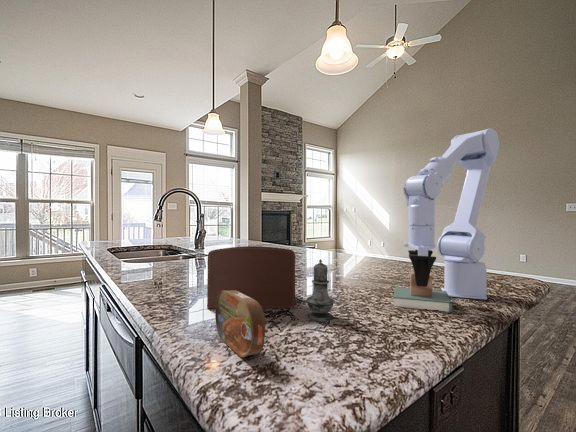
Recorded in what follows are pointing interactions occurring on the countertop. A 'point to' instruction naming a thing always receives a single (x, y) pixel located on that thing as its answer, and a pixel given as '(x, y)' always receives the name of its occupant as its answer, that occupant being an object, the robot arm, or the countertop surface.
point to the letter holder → (253, 275)
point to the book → (422, 300)
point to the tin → (240, 322)
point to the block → (420, 287)
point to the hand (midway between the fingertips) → (420, 282)
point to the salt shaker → (320, 295)
